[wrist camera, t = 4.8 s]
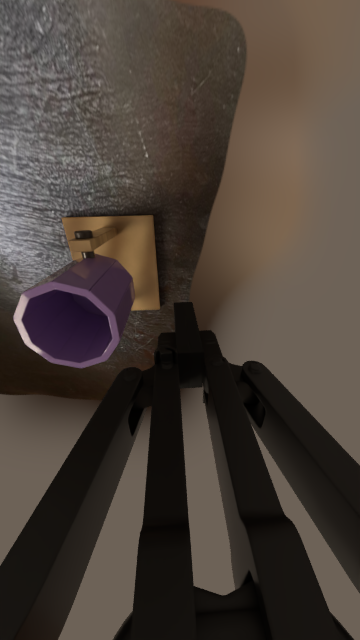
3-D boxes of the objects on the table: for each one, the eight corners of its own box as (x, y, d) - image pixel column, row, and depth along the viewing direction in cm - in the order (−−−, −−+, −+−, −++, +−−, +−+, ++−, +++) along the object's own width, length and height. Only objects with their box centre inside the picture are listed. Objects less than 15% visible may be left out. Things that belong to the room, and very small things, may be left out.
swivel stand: (153, 214, 29) (144, 222, 18) (160, 306, 36) (156, 350, 25) (64, 217, 28) (3, 226, 18) (89, 309, 35) (55, 354, 25)
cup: (128, 246, 22) (106, 271, 14) (138, 320, 26) (126, 370, 19) (55, 248, 22) (-9, 275, 14) (78, 323, 26) (39, 374, 18)
